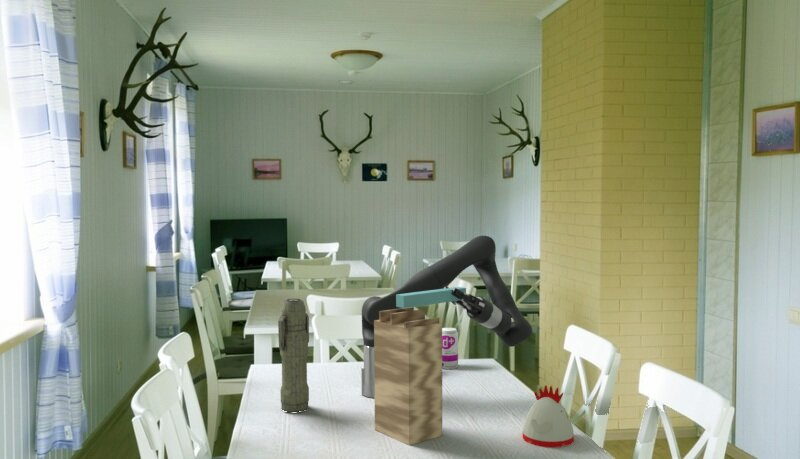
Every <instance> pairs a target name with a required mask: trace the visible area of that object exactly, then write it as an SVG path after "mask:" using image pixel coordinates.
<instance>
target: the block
mask: <svg viewBox="0 0 800 459" xmlns="http://www.w3.org/2000/svg"><path fill="white" fill-rule="evenodd" d="M453 288H457V289H458V290H460V291H461V292H463V293H466V294H467V288H466V287H461V286H456V287H454V286H453V287H448V288H445V289H437V290H429V291H421V292H413V293H405V294H397V295H396V307H400V308H409V307H414V308H416V307H421V306H428V305H430V306H431V305H435V304H443V303H452V301H459V300H461V299H458V298H457V297H455V296H453V295H452V291H453Z"/></svg>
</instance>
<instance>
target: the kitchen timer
mask: <svg viewBox="0 0 800 459" xmlns="http://www.w3.org/2000/svg"><path fill="white" fill-rule="evenodd" d="M552 386H553V385H550V386H549V389H548V386H547V385H546V384H545V385H544V388H543V389H544V390H543V389H542V388H538V391H539V394H538V392H537V391H534V397H535V399H536V401H535V402H534V403H533V404H532V405H531V407H530V408H529V409H528V412H527V414H526V417H525V421H524V424H523V428H522V439H523V441H524V442H526V443H528V444H530V445H533V446H537V447H543V448H563V447H567V446H570V445H572V444H573V443H574V438H575V437H574V428H573V424H572V421H571V418H570V416H569V413H568V411H567V409H566V408H565V407H564V405H563V404H562V403H561V402H560V401H561V399H562V397H563V395H564V392H562V393H560V395H559V392H560V391H559V387H556V389H555V391H554V390H553V387H552ZM572 442H573V443H572ZM571 443H572V444H571ZM569 444H570V445H569ZM562 446H563V447H562Z"/></svg>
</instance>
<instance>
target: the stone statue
mask: <svg viewBox="0 0 800 459" xmlns="http://www.w3.org/2000/svg"><path fill="white" fill-rule="evenodd" d="M309 318H310V316H309V315H308V313H307V311H306V306H305V303H304V300H302V299H300V298H287V299H286V300H284V301H283V303H282V307H281V315H280V316H279V319H278V320H277V322H278V330H277V331H278V349H279V353H280V354H279V355H280V357H281V387H280V389H279V390H280V391H279V392H280V403H281V406H280V407H281V408H280V409H282V410H284V411H287V412H299V411H304V410H306V411H308V410H309V408H308V407H309V401H310V390H309V389H310V387H309V385H308V362H307V361H308V358H307V357H308V355H309V342H310V319H309ZM307 409H308V410H307ZM282 410H281V411H282ZM287 412H286V413H287ZM304 412H305V411H304ZM299 413H300V412H299Z"/></svg>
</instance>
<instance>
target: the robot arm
mask: <svg viewBox="0 0 800 459" xmlns="http://www.w3.org/2000/svg"><path fill="white" fill-rule="evenodd" d="M496 246H497V245H496V243H495V240H494V239H493V238H492V237H491V236H489V235H478V236H476V237H474V238H472V239H471V240H469V241H468V242H466V244H464V245H463V246H461V247H460V248H458V249H457V250H456V251H454V252H452V253H451V254H449V255H447V256H445V257H443V258H441V259H440V260H437V262H435V263H433V264H431V265H429V266H426V267H425V268H424V269H422V270H419V271H418V272H417V273H415V274H414V275H413V276H411V278H409V279H408V280H407V281H406V282H405V283H404V284H403V285H402V286H401V287H400V288H398V289H397V290H395V291H393V292H391V293H388V294H387V295H385V296H383V297H381V296H378V295H376V296H370V297H368V298H367V299H366V300H365V301H364V303H363V304H362V307H361V333H362V340H363V366H362V367H361V370H360V371H361V373H360V375H361V378H360V379H361V395H362V396H365V397H367V398H371V399H372V398H373V399H375V378H374V320H379V311H385V310H393V309H400V307H396V295H397V294H405V293H413V292H421V291H429V290H437V289H445V288H449V287H448V286H449V285H451V283H452V282H453V281H454V280H455V279H456V278H457V277H458V276H459V275H460V274H461V273H462V272H463V271H465V270H466V269H467V268H469V267H471V266H473V267H474V269H475V270H476V272H477V273H478V275H479V276H480V278H481V280H482V282H483V284H484V286H485V288H486V291H487V294H488V295H489V298H490V301H489V300H488V299H486V298H485V297H484V296H474V295H472V294H471V293H467V292H466V293H463V292H461V291H460V290H458V289H457V288H453V287H452V288H453V291H452V295H453V296H455V297H457V298H458V299H461V300H459V301H452V302H451V303H452V304H453V305H454V306H455V305H458V306H460V308H461V309H463V310H466V311H465V312H466V314H467V315H466V316H468V318H470V319H471V320H473V321H474V322H476V323H477V324H479V325H481V326H483V327H485V328H488V329H489V330H490V331H492V332H494V333H495V334H496V335H497V336H498V338H500V340H501V342H502V343H503V344H504V345H505V346H506V347H509V348H510V347H511V348H512V347H516V346H517V345H518V346H519V345H520V344H521V343H522V342H524V341H526V340H528V339H529V338H531V336H532V335H533V328H532V325H531V323H530V322H529V321H528V320H527V318H526V317H525V315H523V313H521V311H520V310H519V307H517V304H516V302H515V300H514V297H513V295H512V293H511V291H510V289H509V288H508V285H506V283H505V282H504V280H503V279H502V276H501V275H500V273H499V270H498V266H497V263H496V250H497V248H496ZM512 319H513V321H512Z"/></svg>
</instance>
